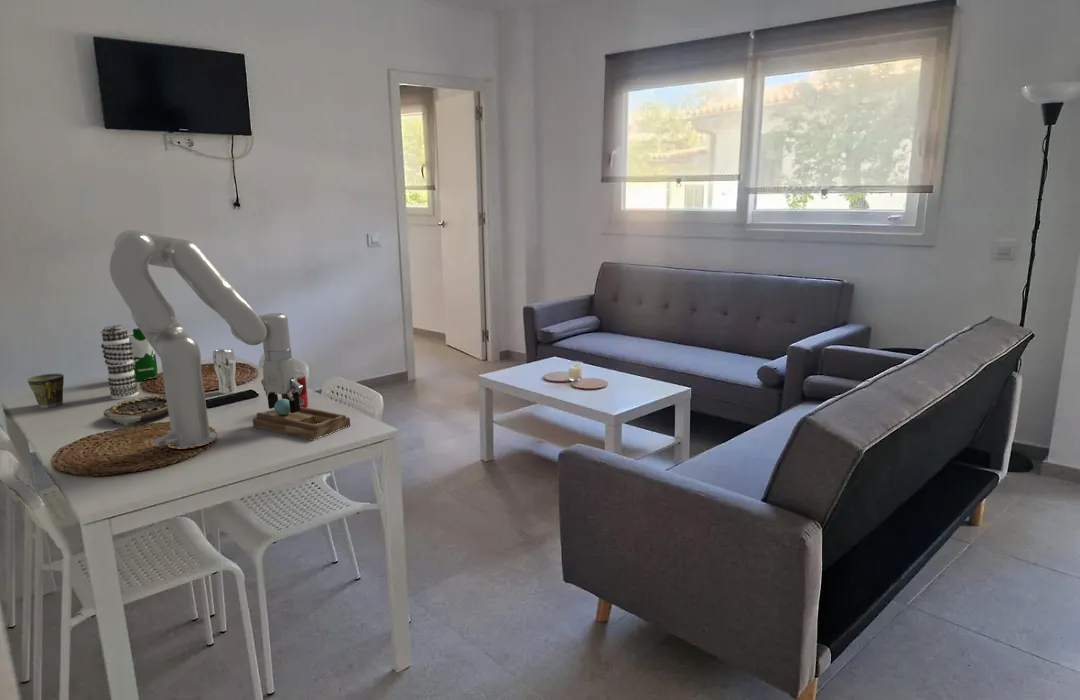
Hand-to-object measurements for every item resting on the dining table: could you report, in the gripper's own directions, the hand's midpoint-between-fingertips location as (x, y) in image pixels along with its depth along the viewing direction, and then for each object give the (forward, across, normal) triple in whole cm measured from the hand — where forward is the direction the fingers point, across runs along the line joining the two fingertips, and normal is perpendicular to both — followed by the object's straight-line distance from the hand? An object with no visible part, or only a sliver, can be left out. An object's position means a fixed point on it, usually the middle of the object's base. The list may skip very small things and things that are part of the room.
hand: (284, 409), depth 206 cm
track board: (+4, +7, 0) cm, 8 cm away
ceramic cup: (+4, -88, -25) cm, 92 cm away
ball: (-1, 0, 0) cm, 1 cm away
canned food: (+4, -10, +12) cm, 16 cm away
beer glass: (+4, -48, +14) cm, 50 cm away
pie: (+5, -48, -16) cm, 51 cm away
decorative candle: (+4, -78, -6) cm, 78 cm away
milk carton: (+4, -95, +11) cm, 96 cm away
